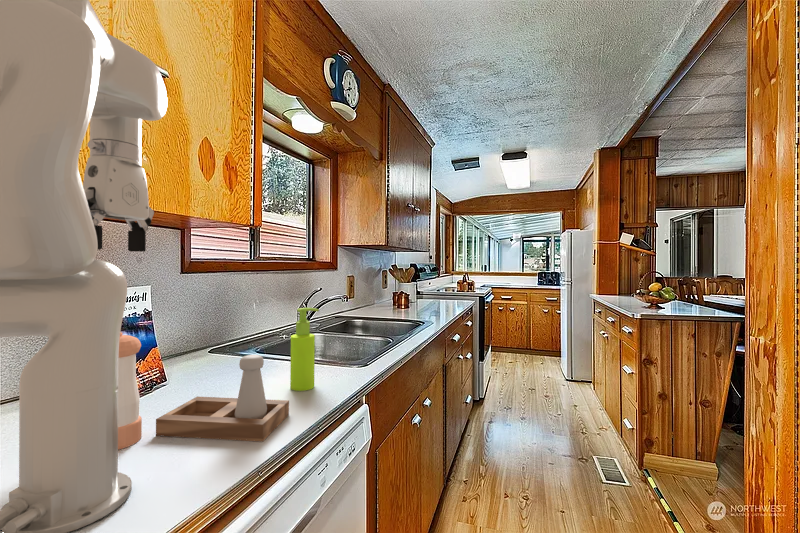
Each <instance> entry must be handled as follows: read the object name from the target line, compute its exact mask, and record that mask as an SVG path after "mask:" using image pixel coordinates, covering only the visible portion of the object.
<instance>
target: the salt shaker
mask: <svg viewBox="0 0 800 533" xmlns="http://www.w3.org/2000/svg"><path fill="white" fill-rule="evenodd" d="M238 365H239V369H241V371H242V375H241V381H240V386H239V392H238V396H237V398H238V400H237V405H236V409H235V417H236V418H249V419H263V418H264V417H265V415H266V413H267V405H266V400H267V399H266V396H265V389H264V382H263V378H262V376H263V375H262V370H261V369H262V368H263V366H264V357H263V356H262V355H260V354H249V355H248V354H247V355H244V356H242V357H241V358H240V359H239V364H238Z"/></svg>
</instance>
